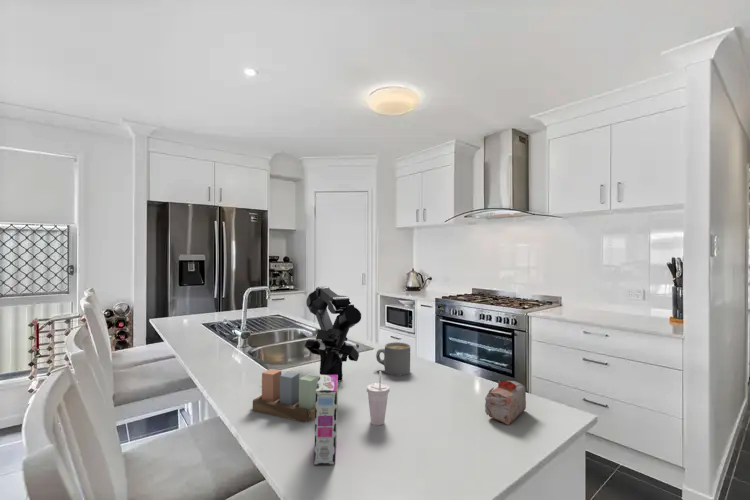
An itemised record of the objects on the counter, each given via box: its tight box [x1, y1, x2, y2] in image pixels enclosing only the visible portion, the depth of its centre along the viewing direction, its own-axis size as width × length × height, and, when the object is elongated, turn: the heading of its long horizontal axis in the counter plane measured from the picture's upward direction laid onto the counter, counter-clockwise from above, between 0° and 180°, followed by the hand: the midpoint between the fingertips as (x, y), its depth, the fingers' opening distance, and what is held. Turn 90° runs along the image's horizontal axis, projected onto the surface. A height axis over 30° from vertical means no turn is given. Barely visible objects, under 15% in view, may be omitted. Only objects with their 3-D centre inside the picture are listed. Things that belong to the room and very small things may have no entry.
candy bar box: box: [313, 374, 339, 466], centre depth 85 cm, size 11×5×16 cm, turn 5°
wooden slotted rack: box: [252, 394, 315, 423], centre depth 107 cm, size 10×20×3 cm, turn 68°
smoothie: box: [366, 370, 390, 426], centre depth 99 cm, size 6×6×14 cm
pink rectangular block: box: [261, 368, 282, 402], centre depth 109 cm, size 4×4×10 cm
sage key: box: [299, 374, 319, 417], centre depth 105 cm, size 4×4×10 cm
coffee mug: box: [375, 341, 411, 377], centre depth 142 cm, size 13×10×10 cm
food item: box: [484, 379, 527, 426], centre depth 104 cm, size 14×8×10 cm, turn 138°
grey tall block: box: [280, 371, 300, 406], centre depth 107 cm, size 4×4×10 cm
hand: (321, 374), depth 115 cm, fingers closed
